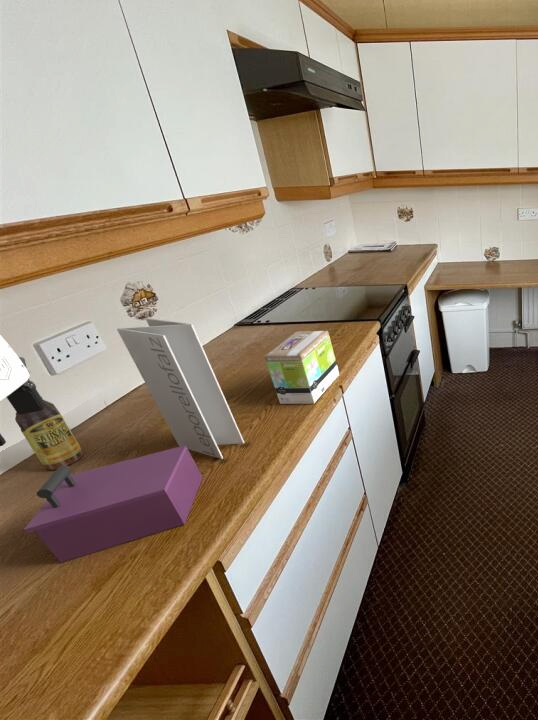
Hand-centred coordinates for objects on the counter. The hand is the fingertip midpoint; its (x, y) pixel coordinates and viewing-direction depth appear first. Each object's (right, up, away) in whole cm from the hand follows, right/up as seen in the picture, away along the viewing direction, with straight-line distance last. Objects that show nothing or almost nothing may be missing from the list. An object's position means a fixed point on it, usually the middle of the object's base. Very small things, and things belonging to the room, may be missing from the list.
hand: (13, 428), depth 63 cm
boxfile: (+8, -19, +12) cm, 24 cm away
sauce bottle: (-22, -14, +28) cm, 39 cm away
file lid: (+7, -12, +9) cm, 17 cm away
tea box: (+22, -1, +50) cm, 55 cm away
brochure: (+9, -11, +30) cm, 33 cm away
